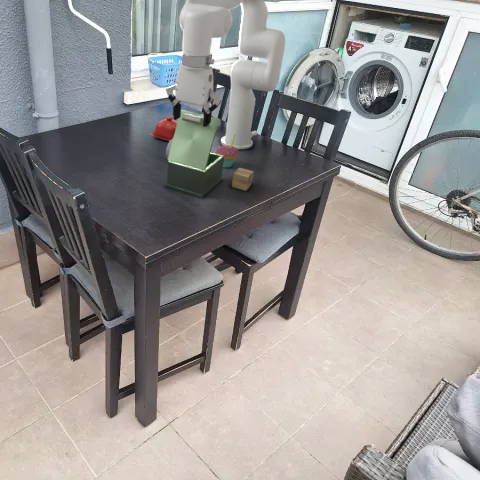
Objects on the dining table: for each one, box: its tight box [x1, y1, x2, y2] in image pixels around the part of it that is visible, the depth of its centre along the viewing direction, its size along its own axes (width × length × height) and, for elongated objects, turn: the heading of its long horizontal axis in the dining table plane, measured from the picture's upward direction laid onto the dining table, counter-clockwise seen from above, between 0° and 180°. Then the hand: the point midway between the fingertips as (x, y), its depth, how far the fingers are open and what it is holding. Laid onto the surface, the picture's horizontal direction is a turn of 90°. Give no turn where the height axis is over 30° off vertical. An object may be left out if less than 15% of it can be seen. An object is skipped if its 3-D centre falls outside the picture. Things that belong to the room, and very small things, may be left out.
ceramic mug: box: [165, 139, 173, 160], centre depth 160 cm, size 11×8×8 cm
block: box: [231, 167, 255, 192], centre depth 146 cm, size 5×5×5 cm
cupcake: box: [214, 135, 240, 168], centre depth 157 cm, size 9×8×12 cm
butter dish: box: [149, 115, 178, 142], centre depth 178 cm, size 12×12×8 cm
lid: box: [167, 109, 220, 171], centre depth 133 cm, size 16×13×6 cm
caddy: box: [166, 151, 224, 198], centre depth 145 cm, size 15×13×9 cm
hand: (191, 122), depth 130 cm, fingers open, 9 cm apart
